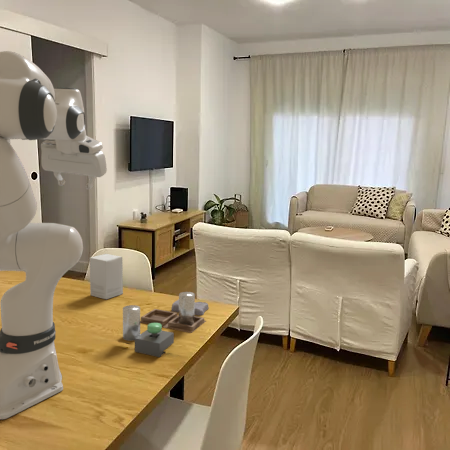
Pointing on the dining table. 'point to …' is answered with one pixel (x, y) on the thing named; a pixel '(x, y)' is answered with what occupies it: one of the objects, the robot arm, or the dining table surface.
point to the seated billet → (186, 308)
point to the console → (153, 343)
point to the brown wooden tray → (170, 320)
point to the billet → (131, 322)
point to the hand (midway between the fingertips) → (75, 186)
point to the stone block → (199, 307)
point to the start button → (154, 328)
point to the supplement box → (106, 276)
